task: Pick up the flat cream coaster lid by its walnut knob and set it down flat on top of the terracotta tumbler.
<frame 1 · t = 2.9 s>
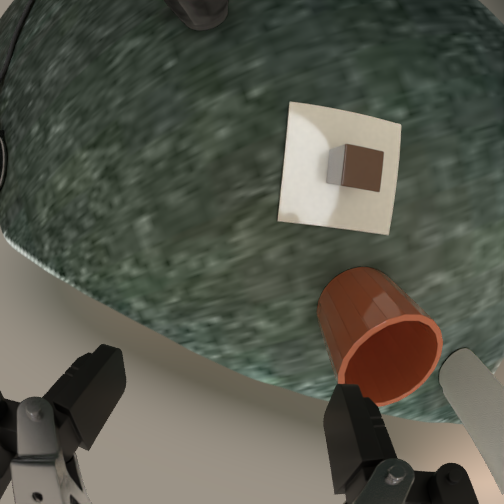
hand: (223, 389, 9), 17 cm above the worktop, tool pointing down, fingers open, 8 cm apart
paper towel roll: (451, 367, 29), on the worktop
tumbler: (357, 307, 27), on the worktop
coaster lid: (341, 168, 23), on the worktop
beverage cup: (205, 14, 20), on the worktop
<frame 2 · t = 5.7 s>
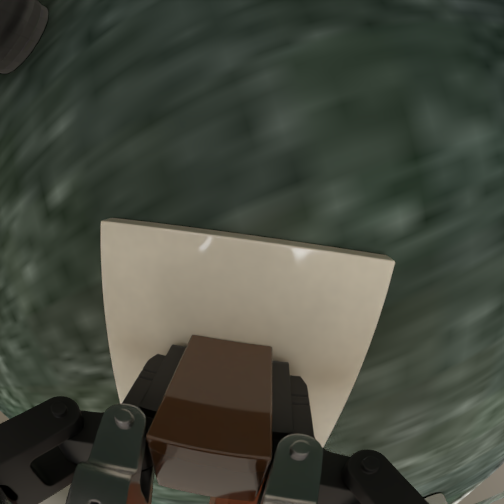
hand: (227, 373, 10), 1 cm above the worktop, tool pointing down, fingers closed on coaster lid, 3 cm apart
coaster lid: (230, 359, 11), on the worktop, touching gripper
beverage cup: (22, 39, 8), on the worktop
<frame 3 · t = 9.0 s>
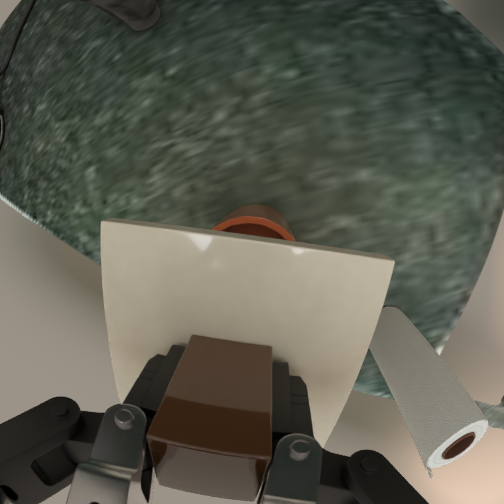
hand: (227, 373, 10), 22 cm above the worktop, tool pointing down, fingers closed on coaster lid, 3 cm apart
paper towel roll: (380, 328, 34), on the worktop
tumbler: (254, 242, 32), on the worktop
coaster lid: (230, 359, 11), point 21 cm above the worktop, touching gripper
beverage cup: (145, 18, 25), on the worktop
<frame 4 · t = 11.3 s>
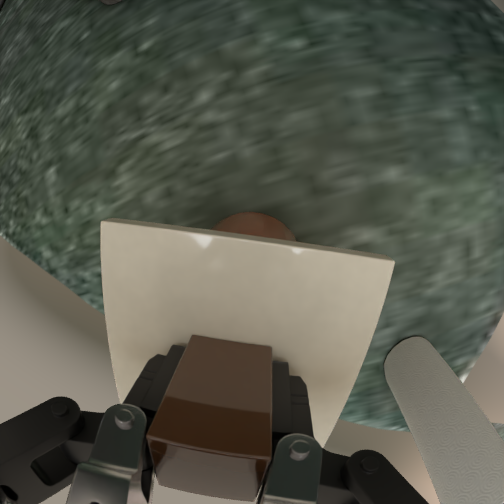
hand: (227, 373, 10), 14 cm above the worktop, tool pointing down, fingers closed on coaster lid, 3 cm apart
paper towel roll: (402, 360, 26), on the worktop
tumbler: (250, 262, 24), on the worktop
coaster lid: (230, 359, 11), point 13 cm above the worktop, touching gripper
when the fingers open (11 cm above the worktop, at t = 12.6 s): coaster lid stays where it is, resting on tumbler.
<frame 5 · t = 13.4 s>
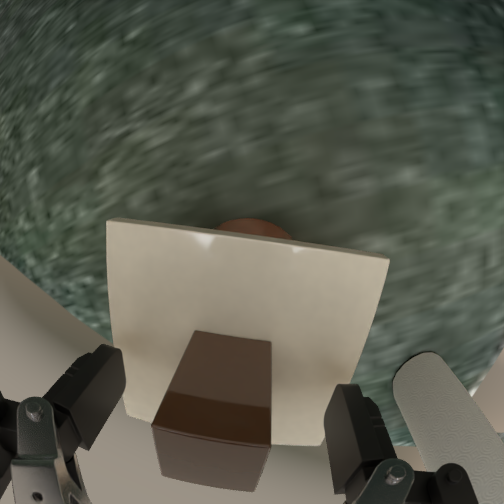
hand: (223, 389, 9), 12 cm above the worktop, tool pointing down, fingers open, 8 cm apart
paper towel roll: (412, 377, 23), on the worktop
tumbler: (248, 275, 21), on the worktop, touching coaster lid
coaster lid: (231, 354, 12), point 10 cm above the worktop, touching tumbler
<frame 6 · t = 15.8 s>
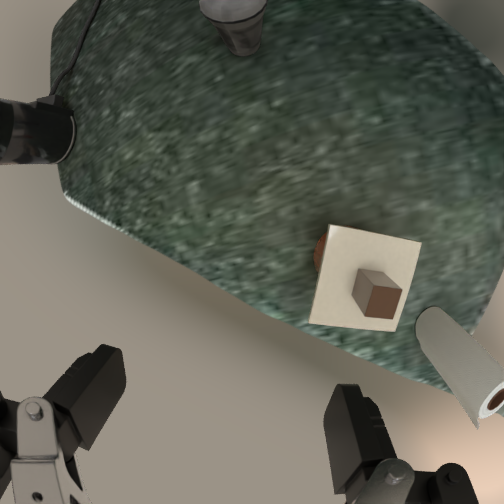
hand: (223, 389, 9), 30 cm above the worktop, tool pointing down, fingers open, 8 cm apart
paper towel roll: (426, 324, 39), on the worktop
coaster lid: (365, 281, 28), point 10 cm above the worktop, touching tumbler
beverage cup: (244, 44, 32), on the worktop
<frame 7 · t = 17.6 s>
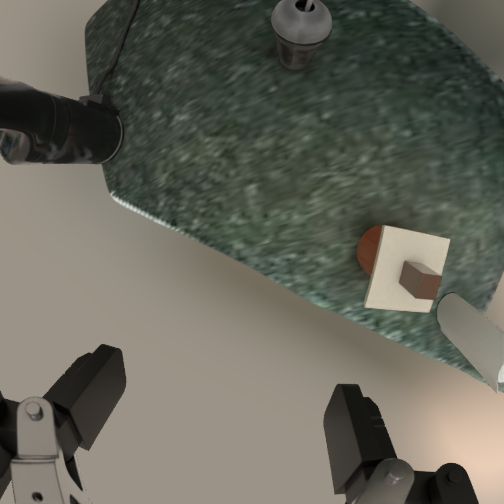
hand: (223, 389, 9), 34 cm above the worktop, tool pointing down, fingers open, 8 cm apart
paper towel roll: (445, 308, 44), on the worktop
tumbler: (381, 250, 42), on the worktop, touching coaster lid
coaster lid: (408, 271, 32), point 10 cm above the worktop, touching tumbler
beverage cup: (293, 58, 35), on the worktop
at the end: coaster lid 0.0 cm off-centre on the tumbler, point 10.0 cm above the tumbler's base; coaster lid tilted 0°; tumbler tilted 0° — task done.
